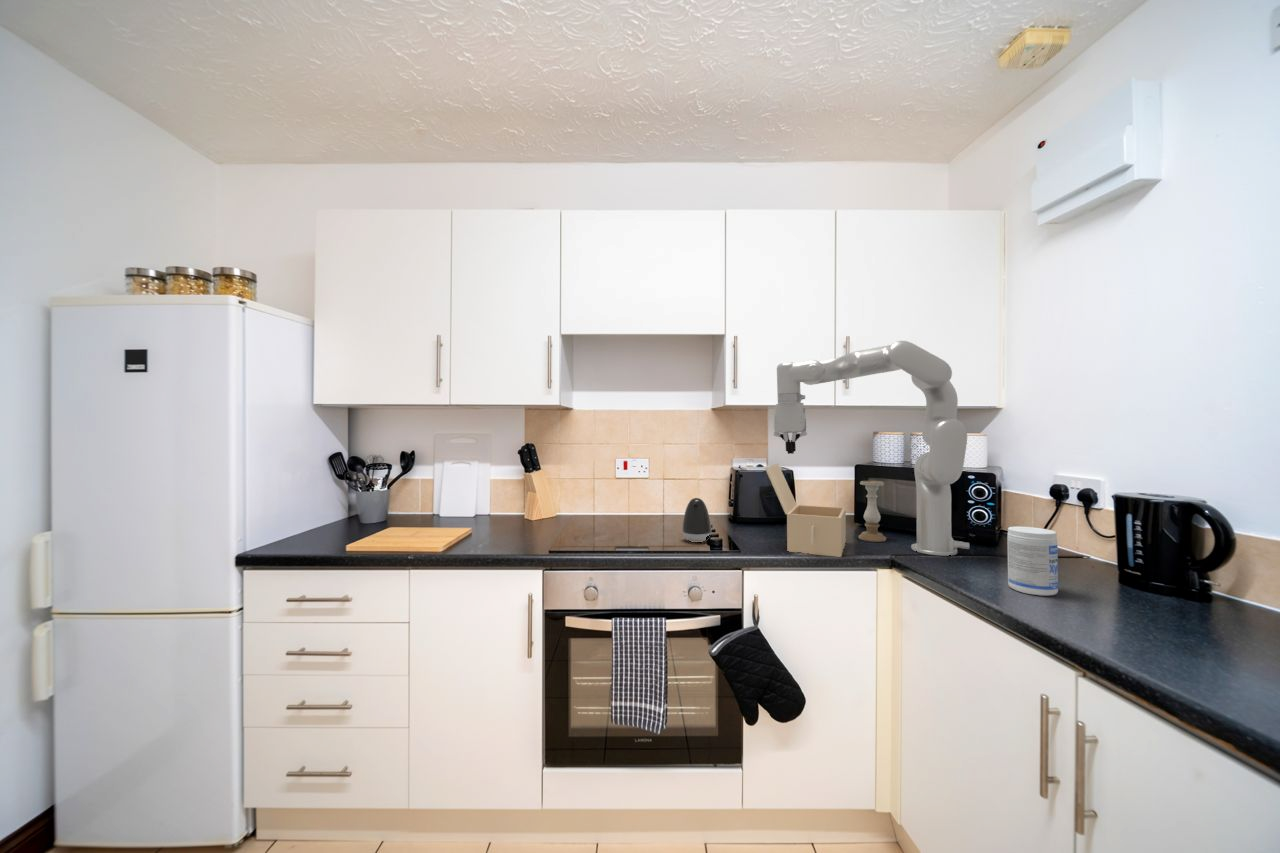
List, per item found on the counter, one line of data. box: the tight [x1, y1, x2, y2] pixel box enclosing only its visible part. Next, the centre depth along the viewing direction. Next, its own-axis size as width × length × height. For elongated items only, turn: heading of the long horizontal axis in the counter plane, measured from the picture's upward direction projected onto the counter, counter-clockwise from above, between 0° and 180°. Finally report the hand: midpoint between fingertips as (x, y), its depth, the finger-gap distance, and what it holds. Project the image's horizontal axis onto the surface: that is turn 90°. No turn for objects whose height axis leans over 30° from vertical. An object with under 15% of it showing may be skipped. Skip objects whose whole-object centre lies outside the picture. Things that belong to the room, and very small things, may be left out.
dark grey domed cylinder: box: [681, 497, 712, 542], centre depth 172 cm, size 10×10×15 cm
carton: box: [786, 504, 847, 558], centre depth 161 cm, size 16×24×12 cm, turn 154°
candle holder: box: [858, 480, 887, 543], centre depth 174 cm, size 9×9×20 cm
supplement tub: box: [1007, 525, 1059, 597], centre depth 119 cm, size 10×10×15 cm
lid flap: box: [764, 463, 798, 515], centre depth 168 cm, size 16×20×1 cm
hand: (790, 453), depth 167 cm, fingers closed
